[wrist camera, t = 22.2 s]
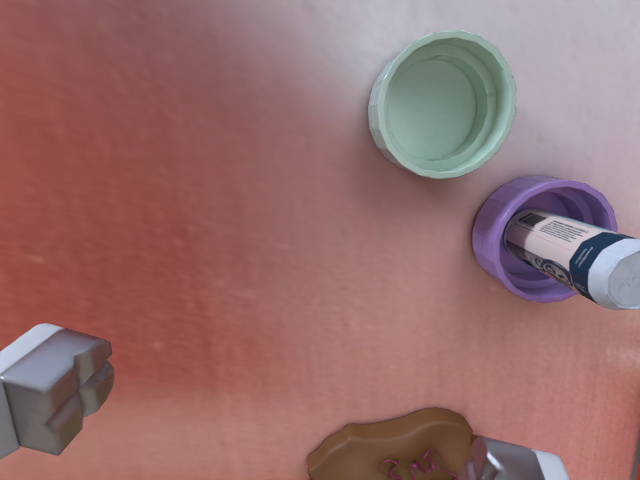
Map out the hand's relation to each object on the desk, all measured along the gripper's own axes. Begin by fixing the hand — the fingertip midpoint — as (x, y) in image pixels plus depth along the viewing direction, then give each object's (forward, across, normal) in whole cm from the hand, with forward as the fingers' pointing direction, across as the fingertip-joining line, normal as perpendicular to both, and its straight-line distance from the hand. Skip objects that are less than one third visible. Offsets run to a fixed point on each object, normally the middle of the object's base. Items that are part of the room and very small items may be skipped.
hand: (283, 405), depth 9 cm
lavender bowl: (+30, -16, +5) cm, 34 cm away
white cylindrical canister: (+30, -16, +5) cm, 34 cm away
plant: (+23, -11, +34) cm, 43 cm away
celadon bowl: (+29, -4, -4) cm, 30 cm away
